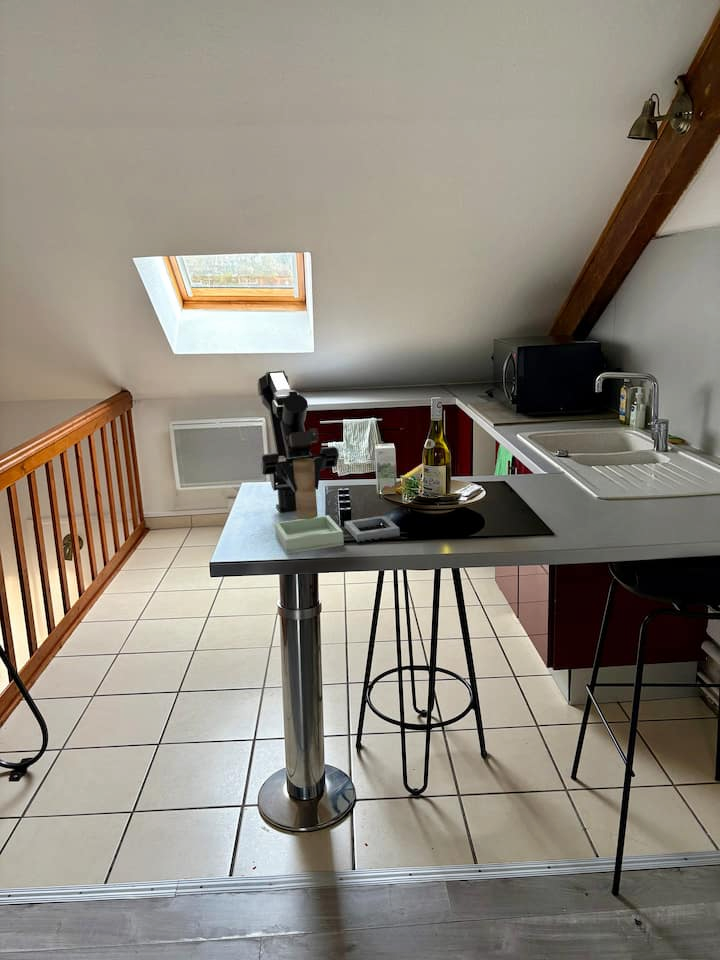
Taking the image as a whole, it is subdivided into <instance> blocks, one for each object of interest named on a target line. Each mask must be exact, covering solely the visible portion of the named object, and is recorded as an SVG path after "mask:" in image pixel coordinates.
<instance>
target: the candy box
mask: <svg viewBox="0 0 720 960" xmlns="http://www.w3.org/2000/svg"><path fill="white" fill-rule="evenodd" d="M421 474H422V463H421V464H419V465H418V466H416V467H414V468H413V469H412V470H410V471H409V472H407V473H405V474H404V475H403V476H401V494H402V493H403V488H404V482H405V479H407V478H408V477H411V476H414V477H419V478H420V477H421Z"/></svg>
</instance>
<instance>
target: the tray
mask: <svg viewBox="0 0 720 960" xmlns="http://www.w3.org/2000/svg"><path fill="white" fill-rule="evenodd" d="M274 530H275V531H274V532H275V537H276V538H277V540H278V542H279V544H280V545H281V547H282V548H283V550H284V552H285V553H286V555H288V554H295V553H300V552H308V551H315V550H322V549H328V548H333V547H335V548H336V547H339V546H344V545H345V544H344V543H345V542H344V531H343V530H342V528H340V526H339V525H338V524H337V523H336V522H335V521H334V520H333V519H332V518H331V516H330V515H329V514H327V515H320V516H319V515H318V516H317V517H315V518H312V519H299V518H297V519H293V520H292V519H291V520H283V521H277V522H274Z"/></svg>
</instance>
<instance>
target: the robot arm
mask: <svg viewBox="0 0 720 960" xmlns="http://www.w3.org/2000/svg"><path fill="white" fill-rule="evenodd" d="M257 392H258V396H260V399H261V402H262V405H263V406H265V408H266V409H267V410H268V411H269V412H268V413H269V418H270V423H271V430H272V435H273V436H272V437H273V442H274V448H275V452H271V453H263V455H262V456H261V465H260V466H261V467H260V468H261V473H262V475H265V476H268V475H270V483H271V488H272V490H273V491H275V492H276V491H277V499H278V503H277V504H275V507H276V509H277V511H278V512H279V513H283V512H285V513H286V512H292V511H297V508H296V495H295V492H296V485H295V482H294V470H293V460H296V459H300V458H311V459H314V471H315V486H316V491H317V490H319V485H320V484H319V483H320V476H321V472H322V471H325V469H327V468H329V469H330V468H335V467H336V466H337V465H338V461H339V458H340V457H339V456H340V454H339V450H338V448H337V447H336V446H328V447H327V446H326V447H325V446H324V447H320V453H314V454H312V453H311V452H312V450H313V447H312V445H313V443H318V442H319V440H320V439H319V434H318V429H317V428H309V429H308V430H307V431H306V429H305V424H304V423H305V421H306V419H307V418H306V416H307V410H308V408H309V405H308V400H307V399H306V398H305V397H304V396H303V395H300V393H299V392H298V390H297V391H296V390H294V389H291V387H290V383H289V378H288V375H286V372H285V370H282V369H274V370H273V369H272V370H268V371H266V372H265V374H264V375H263V376H261V377H260V378H259V379H258V381H257Z"/></svg>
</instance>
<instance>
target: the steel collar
mask: <svg viewBox="0 0 720 960" xmlns="http://www.w3.org/2000/svg"><path fill="white" fill-rule="evenodd" d="M381 523H382V524H383V525H384V526H385V527H386V528H384V527H382V528H377V529H371V530H370V529H369V530H363V531H361V530H360V529H358V528H357V527H367V526H374V527H376V526H375V525H379V524H381ZM343 524H344V529H345V528H346V529H347V530H348V531H349V532H350V533H351V535H352V536H353V537H354V538H355V539H356V541H357V542H356V543H361V542H360V541H362V542H366V541H365V540H369V541H372V540H371V539H375V540H380V539H379V538H382V539H388V538H393V537H399V536H400V534H401V533H400V527H399V526H398V525H396V523H394V522H393V521H392V520H391V519H390V518H389V517H387V516H386V515H380V516H379V515H378V516H373V517H366V518H359V519H353V520H346V521H345V520H344V522H343ZM351 535H350V536H351ZM352 536H351V537H352ZM353 537H352V538H353ZM354 538H353V539H354ZM355 539H354V540H355Z"/></svg>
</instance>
